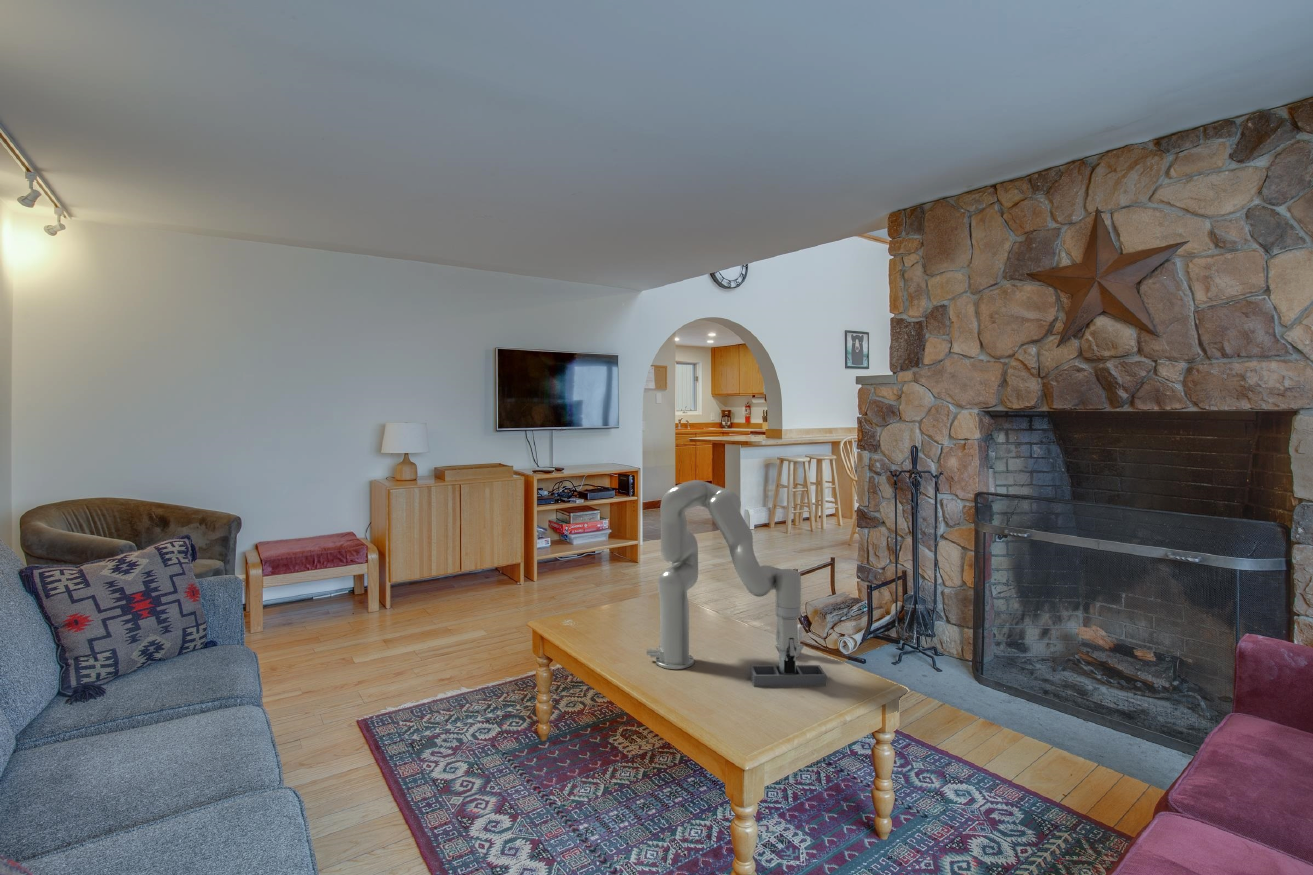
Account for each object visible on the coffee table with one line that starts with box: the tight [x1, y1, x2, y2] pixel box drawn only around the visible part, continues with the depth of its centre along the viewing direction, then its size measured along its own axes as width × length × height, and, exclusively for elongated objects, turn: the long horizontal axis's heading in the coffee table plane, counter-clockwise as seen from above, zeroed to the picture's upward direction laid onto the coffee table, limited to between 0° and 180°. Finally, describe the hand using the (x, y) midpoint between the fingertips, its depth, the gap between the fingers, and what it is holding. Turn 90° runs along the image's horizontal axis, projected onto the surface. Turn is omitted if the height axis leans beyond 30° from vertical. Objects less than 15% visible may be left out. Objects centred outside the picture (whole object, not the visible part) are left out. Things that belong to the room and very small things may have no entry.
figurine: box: [774, 623, 805, 658], centre depth 217 cm, size 7×9×15 cm
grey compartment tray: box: [749, 664, 828, 688], centre depth 197 cm, size 22×8×3 cm, turn 91°
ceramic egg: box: [778, 648, 797, 675], centre depth 197 cm, size 5×5×8 cm
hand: (787, 668), depth 197 cm, fingers closed on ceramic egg, 4 cm apart
